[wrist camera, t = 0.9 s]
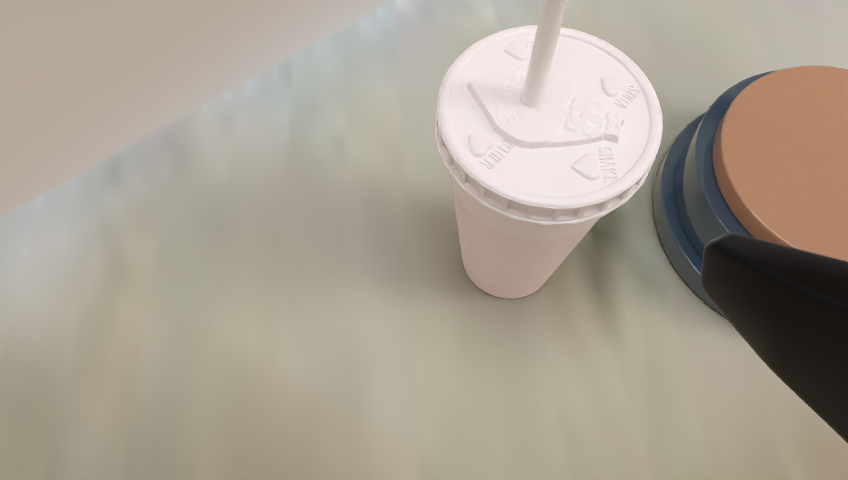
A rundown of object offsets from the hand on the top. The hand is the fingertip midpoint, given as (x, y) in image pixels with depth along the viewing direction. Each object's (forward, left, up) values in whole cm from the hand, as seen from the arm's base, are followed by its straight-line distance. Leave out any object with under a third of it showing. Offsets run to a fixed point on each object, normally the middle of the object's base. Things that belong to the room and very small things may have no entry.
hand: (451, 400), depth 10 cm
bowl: (-3, -18, -15) cm, 24 cm away
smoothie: (+4, -9, -16) cm, 19 cm away
